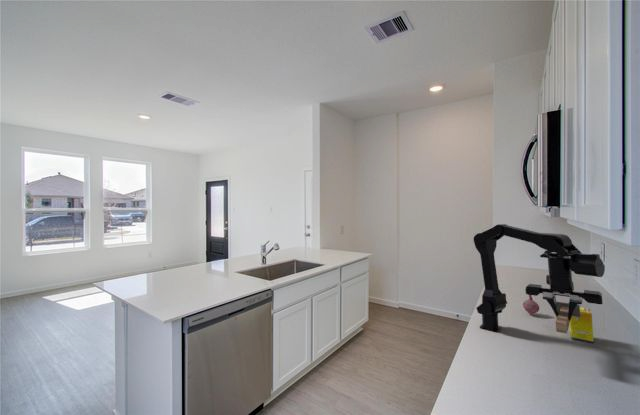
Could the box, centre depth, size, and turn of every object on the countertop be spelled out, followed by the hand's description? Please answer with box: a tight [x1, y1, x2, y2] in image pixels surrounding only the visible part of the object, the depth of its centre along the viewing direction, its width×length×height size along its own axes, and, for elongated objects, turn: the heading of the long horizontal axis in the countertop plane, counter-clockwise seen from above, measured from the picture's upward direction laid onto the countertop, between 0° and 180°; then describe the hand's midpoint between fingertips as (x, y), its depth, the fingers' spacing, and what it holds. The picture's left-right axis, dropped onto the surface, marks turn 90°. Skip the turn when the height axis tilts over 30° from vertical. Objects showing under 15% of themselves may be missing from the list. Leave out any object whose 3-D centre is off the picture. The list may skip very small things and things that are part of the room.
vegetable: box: [522, 295, 540, 315], centre depth 125 cm, size 6×6×10 cm
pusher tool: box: [555, 301, 581, 334], centre depth 90 cm, size 21×7×4 cm, turn 134°
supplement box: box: [569, 306, 595, 344], centre depth 101 cm, size 6×6×11 cm
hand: (563, 319), depth 89 cm, fingers closed on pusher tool, 2 cm apart
